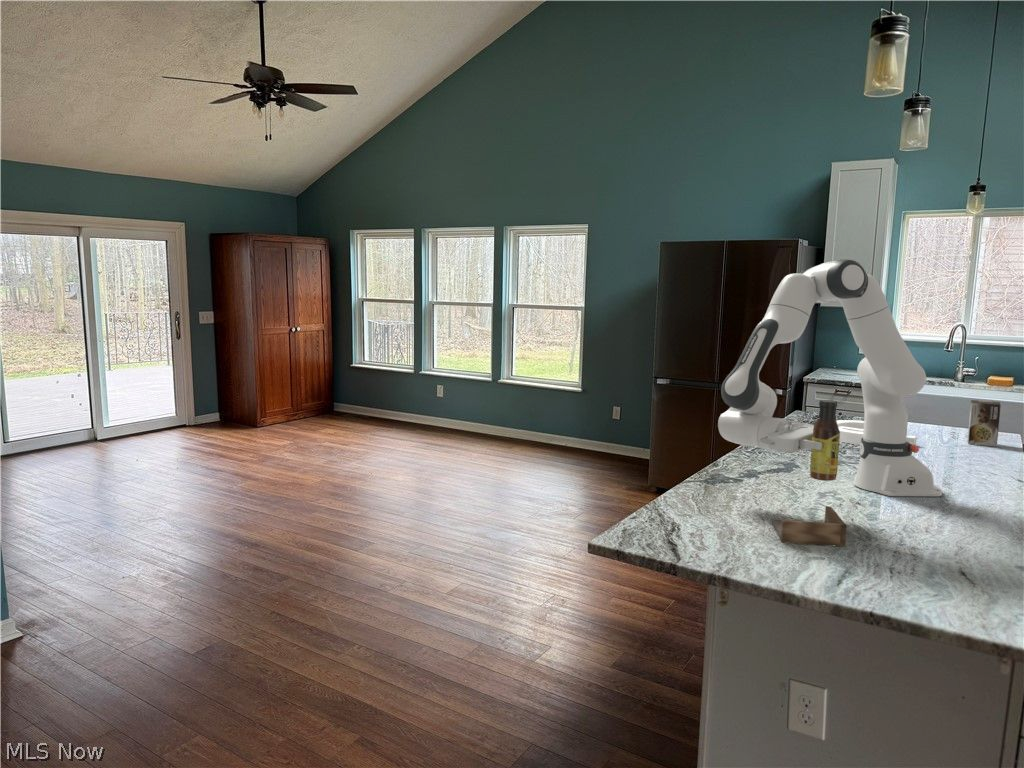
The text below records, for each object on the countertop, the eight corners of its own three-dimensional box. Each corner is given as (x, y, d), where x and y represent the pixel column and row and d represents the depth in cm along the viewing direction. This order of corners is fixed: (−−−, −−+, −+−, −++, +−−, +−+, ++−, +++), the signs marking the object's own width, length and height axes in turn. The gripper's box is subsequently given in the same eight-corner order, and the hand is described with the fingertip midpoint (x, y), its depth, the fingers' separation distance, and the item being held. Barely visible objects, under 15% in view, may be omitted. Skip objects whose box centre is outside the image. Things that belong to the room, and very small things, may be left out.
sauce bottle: (834, 483, 165) (840, 404, 162) (807, 479, 168) (812, 401, 165) (838, 476, 170) (843, 400, 168) (811, 473, 174) (816, 397, 171)
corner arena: (829, 526, 165) (830, 506, 164) (845, 546, 152) (846, 525, 151) (771, 522, 167) (772, 502, 167) (781, 542, 154) (782, 521, 153)
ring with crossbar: (920, 448, 247) (921, 435, 246) (844, 447, 247) (845, 435, 247) (879, 431, 275) (880, 420, 274) (811, 431, 275) (812, 419, 274)
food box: (995, 443, 252) (1000, 401, 250) (997, 447, 247) (1001, 404, 245) (966, 440, 257) (971, 399, 255) (967, 444, 252) (971, 401, 250)
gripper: (757, 428, 170) (811, 437, 160) (794, 418, 184) (846, 425, 174) (755, 452, 171) (809, 463, 161) (793, 440, 185) (845, 449, 175)
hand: (829, 443), depth 167 cm, fingers closed on sauce bottle, 6 cm apart
